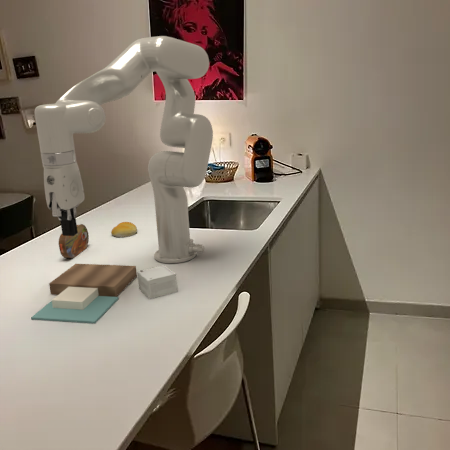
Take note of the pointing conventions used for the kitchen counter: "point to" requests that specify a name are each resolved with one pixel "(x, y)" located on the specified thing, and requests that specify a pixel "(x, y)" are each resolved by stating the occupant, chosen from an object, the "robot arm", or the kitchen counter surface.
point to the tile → (75, 298)
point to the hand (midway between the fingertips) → (70, 234)
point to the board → (95, 278)
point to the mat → (77, 311)
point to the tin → (74, 242)
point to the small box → (157, 281)
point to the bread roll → (124, 229)
